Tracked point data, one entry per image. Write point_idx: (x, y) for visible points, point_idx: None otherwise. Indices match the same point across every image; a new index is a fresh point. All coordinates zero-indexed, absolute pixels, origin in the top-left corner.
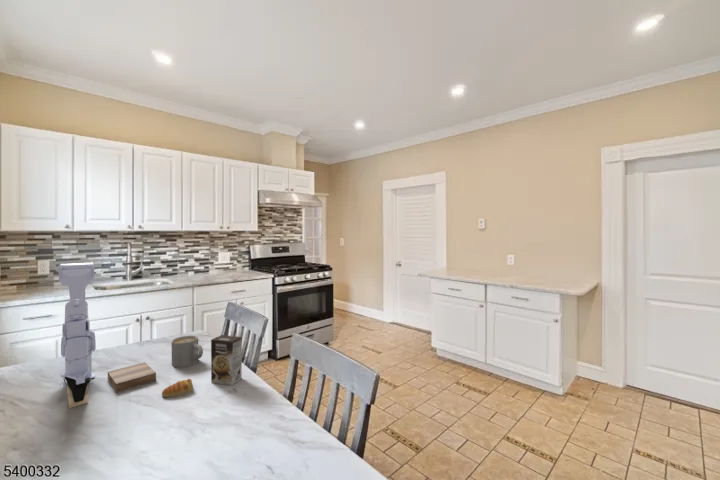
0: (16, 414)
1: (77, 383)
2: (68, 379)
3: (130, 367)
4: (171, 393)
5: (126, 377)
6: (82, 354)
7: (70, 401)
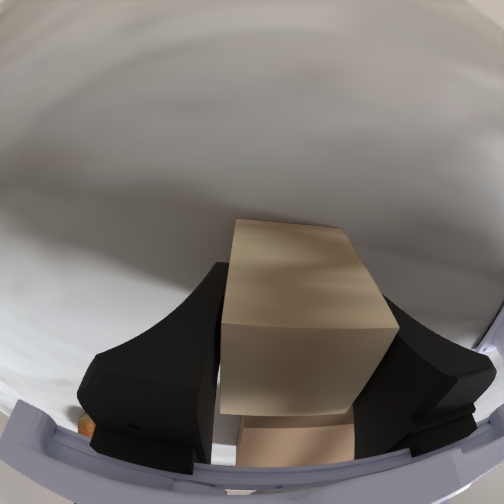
0: (426, 6)
1: (17, 410)
2: (420, 381)
3: None
4: (78, 424)
5: (284, 446)
6: None
7: (233, 248)
